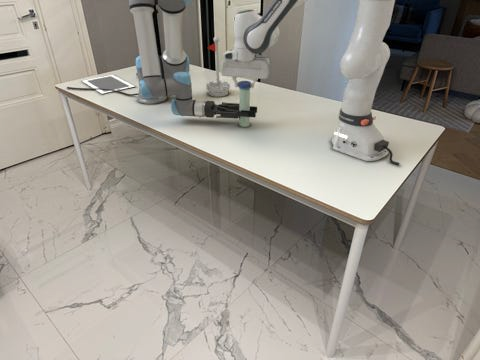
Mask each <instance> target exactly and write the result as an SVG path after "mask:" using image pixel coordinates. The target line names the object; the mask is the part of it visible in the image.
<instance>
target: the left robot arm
mask: <svg viewBox="0 0 480 360" xmlns="http://www.w3.org/2000/svg"><path fill="white" fill-rule="evenodd" d="M190 3H191V2H190V0H128V5H129V11H130V13H131V14H132V16H133V22H134V28H135V34H136V40H137V47H138V53H139V55H138V56H137V57H136V58H135V68H136V73H137V74H138V76H137V79H138V86H139V87H138V92H137V93H127V92H123V91H121V90H119V91H116V90H111V89H98V88H91V87H73V86H72V87H71V86H67V87H66V89H70V90H80V91H83V90H84V91H96V90H110V91H114V92H113V93H119V94H121V95H126V96H128V97H129V96H130V97H133V96H137V101H138V102H139V103H140V104H144V105H155V104H160V103H163V102H165V101H167V100H168V97H175V98H173V99H172V100H171V103H170V104H171V105H170V111H171V113H172V114H173V115H174V116H180V117H197V118H199V119H201V118H210V119H211V118H212V119H213V118H214V117H215V118H216V119H221V118H222V119H235V120H236V119H238V120H239V119H240V118H241V117H250V118H256V116H257V113H258V106H252V105H250V111H247V110H241V111H239V103H237V102H236V103H235V102H233V103H232V102H225V101H222V102H221V103H219V104H216V102H215V101H214V100H205V99H193V90H192V78H191V74H190V58H189V55H188V54H187V53H186V51H185V50H184V34H183V33H184V32H183V30H184V28H183V12H185V10H186V8H187V5H189V4H190ZM154 6H158V8H159V10H160V11H161V12H162V21H163V33H164V47H165V49H164V51H163V52H162V55H159V54H158V53H159V52H158V47H157V37H156V32H155V26H154V25H155V24H154V18H153V13H154V11H155V7H154Z"/></svg>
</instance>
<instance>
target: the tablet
mask: <svg viewBox="0 0 480 360" xmlns="http://www.w3.org/2000/svg"><path fill="white" fill-rule="evenodd" d="M81 82H82V83H84V84H85V85H87V86H88V87H89V88H98V89H111V90H116V91H125V90H127V89H132V88H135V87H136V86H135V85H133V84H132V83H130V82H128V81H126V80H124V79H122V78H121V77H119V76H116V75H114V74H110V75H105V76H99V77H95V78H89V79H84V80H81ZM95 92H98V93H99V94H100V95H105V94H110V93H115V92H114V91H110V90H95Z"/></svg>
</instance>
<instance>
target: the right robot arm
mask: <svg viewBox="0 0 480 360" xmlns="http://www.w3.org/2000/svg"><path fill="white" fill-rule="evenodd" d="M306 1H308V0H273V2H272V3H271V4H270V5H269V6H268V7H267V9H266V11H264V13H263V15H260V14H259V13H258V12H256V10H254V9H245V10H241V11H237V12H236V14H235V16H234V21H233V38H234V43H233V48H231V49H228V50H226V51H225V52H223V54H222V60H221V63H220V74H221V76H222V77H231V79H232V81H233V83H234V87H235V88H239V87H238V83H239V82H240V81H238V80H237V78H245V79H252V81H253V82H251V84H250V89H255V84H256V82H257V80H258V79H261V80H266V79H268V77H269V76H270V68H269V66H270V63H271V59H270V57H269V56H268V55H266V54H262V53H264V52H265V51H267V50H268V49H270V48H271V47H272V46H274V45H275V44H276V43H277V42H279V39H280V36H281V30H280V26H279V25H280V24H281V23H282V21H283V20H284V19H285V18H286V17H287V16H288V14H290V12H291V11H292V10H294V9H295V8H296V7H298V6H300V5H301V4H303V3H305V2H306ZM395 3H396V0H358V7H357V12H356V18H355V24H354V27H353V30H352V32H351V36H350V38H349V41H348V44H347V48H346V50H345V52H344V54H343V55H342V56H341V59H340V61H339V62H340V63H339V68H340V69H339V70H340V72H341V74H342V75H343V76H344V77H345V78H346V79H349V80H348V82H347V84H346V86H345V88H344V91H343V98H342V103H341V108H340V109H339V113H338V122H337V123H338V124H337V127H336V130H335V131H334V132H333V133H334V135H333V137H332V139H331V144H332V149H333V150H334V151H336V152H340V153H343V154H344V155H345V154H346V155H348V156H351V157H354V158H356V159H359V160H361V161H365V162H374V161H379V160H381V159H383V158H385V157H387V155H388V154H389V162H390V164H393V165H397V166H399V165H400V162H397V161H394V160H393V155H394V154H393V152H392V150H391V149H390V148H389V145H390V141H388V140H385V138H384V135H383V134H382V133H381V131H379V128H377V126H376V125H375V124H374V121H375V120H376V119H377V116H373V113H372V109H373V104H374V100H375V96H376V93H377V89H378V87H379V84H380V81H381V79H382V76H383V75H384V72H385V68H386V66H387V63H388V61H389V59H390V56H391V50H390V48H389V45H388V44H387V43H386V42H384V41H383V40H384V38H385V36H386V33H387V31H388V30H389V28H390V25H391V21H392V16H393V12H394V7H395Z"/></svg>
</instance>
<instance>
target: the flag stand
mask: <svg viewBox="0 0 480 360" xmlns="http://www.w3.org/2000/svg"><path fill="white" fill-rule="evenodd" d="M219 42H220V38H219V37H218V36H214V37H213V43H212V44H211V45H209V46H208V47H207V49H208V50H211V51H213V52H214V53H215V74H216V75H215V76H216V82H214V81H213V80H211V81H208V82H207V83H206V84H205V85H206V87H205V88H206V90H207V91H208V95H209V96H211V97H216V98H217V97H225V96H227V95H228V94H229V90H230V88H231V83H230V82H228V81H227V80H224V81H223V82H222V80H220V64H219V63H220V61H219Z"/></svg>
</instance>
